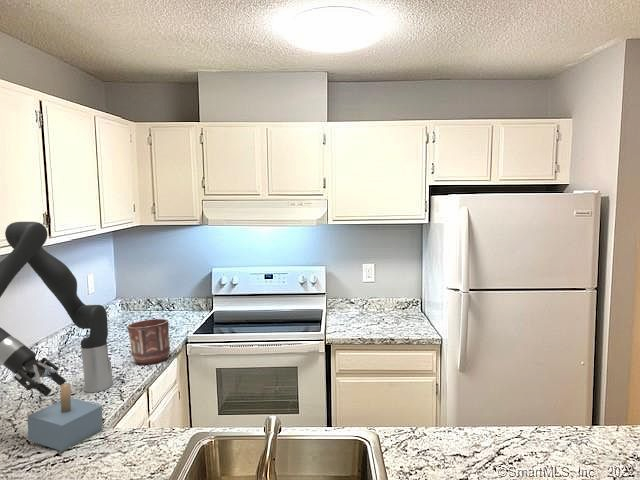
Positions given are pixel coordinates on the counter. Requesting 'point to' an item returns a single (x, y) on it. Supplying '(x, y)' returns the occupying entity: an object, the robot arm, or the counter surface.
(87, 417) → the cover
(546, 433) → the counter surface
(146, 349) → the pottery
